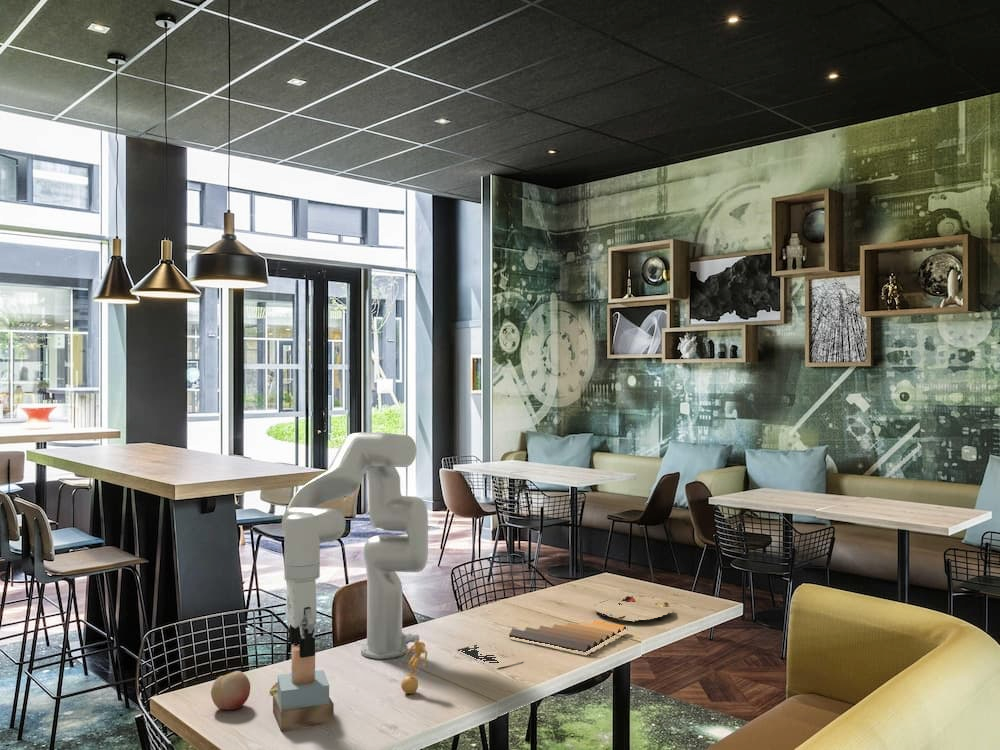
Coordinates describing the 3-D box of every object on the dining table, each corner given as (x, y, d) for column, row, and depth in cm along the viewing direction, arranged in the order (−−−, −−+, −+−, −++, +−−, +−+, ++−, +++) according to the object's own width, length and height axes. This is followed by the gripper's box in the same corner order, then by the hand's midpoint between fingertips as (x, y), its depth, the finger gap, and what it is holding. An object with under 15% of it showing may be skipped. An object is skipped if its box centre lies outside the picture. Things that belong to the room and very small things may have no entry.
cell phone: (481, 646, 222) (481, 643, 222) (523, 663, 208) (523, 660, 208) (456, 653, 217) (456, 649, 217) (497, 671, 203) (497, 667, 203)
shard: (286, 679, 197) (286, 672, 197) (315, 681, 196) (315, 674, 196) (267, 696, 186) (267, 688, 186) (299, 698, 185) (299, 690, 185)
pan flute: (509, 641, 227) (585, 658, 213) (509, 629, 227) (585, 646, 213) (554, 621, 247) (627, 635, 233) (554, 610, 248) (627, 624, 233)
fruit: (229, 699, 183) (229, 664, 183) (257, 704, 180) (257, 669, 180) (203, 712, 175) (204, 675, 176) (232, 717, 172) (232, 680, 173)
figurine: (393, 690, 189) (393, 639, 189) (414, 684, 192) (414, 634, 193) (412, 700, 182) (412, 648, 182) (433, 694, 186) (434, 642, 186)
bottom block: (322, 706, 180) (322, 686, 180) (333, 725, 170) (333, 703, 170) (272, 714, 175) (273, 694, 175) (280, 734, 165) (281, 712, 165)
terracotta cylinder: (311, 674, 176) (312, 643, 176) (317, 682, 172) (317, 650, 172) (289, 678, 174) (289, 646, 174) (294, 686, 169) (294, 653, 169)
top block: (323, 687, 179) (323, 669, 179) (329, 704, 170) (329, 685, 170) (277, 693, 176) (277, 675, 176) (280, 710, 167) (281, 690, 167)
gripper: (277, 564, 180) (277, 640, 179) (293, 582, 164) (293, 665, 164) (310, 561, 183) (310, 635, 183) (329, 577, 167) (329, 659, 167)
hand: (302, 649), depth 173 cm, fingers open, 9 cm apart
